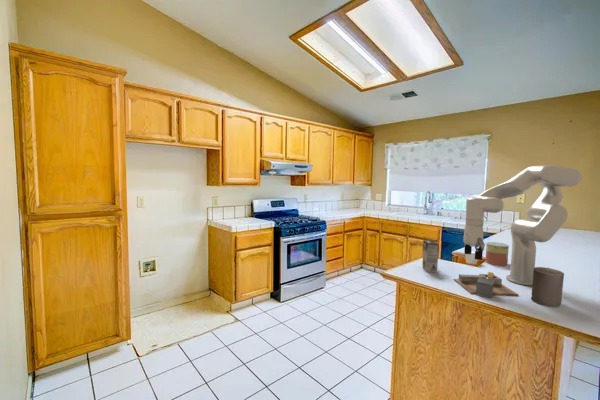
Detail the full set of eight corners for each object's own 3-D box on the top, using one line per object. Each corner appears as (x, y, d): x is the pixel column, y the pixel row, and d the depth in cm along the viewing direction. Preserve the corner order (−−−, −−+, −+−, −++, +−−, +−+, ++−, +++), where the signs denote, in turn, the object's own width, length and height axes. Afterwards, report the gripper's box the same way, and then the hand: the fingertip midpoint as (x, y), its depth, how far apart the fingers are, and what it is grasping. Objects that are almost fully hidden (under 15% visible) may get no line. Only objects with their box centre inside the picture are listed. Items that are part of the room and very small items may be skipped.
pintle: (491, 282, 140) (491, 272, 139) (493, 283, 137) (494, 273, 137) (486, 281, 140) (486, 272, 140) (488, 283, 138) (489, 273, 137)
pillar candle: (525, 297, 124) (527, 264, 122) (545, 297, 124) (548, 263, 123) (545, 308, 114) (549, 272, 113) (568, 307, 115) (571, 271, 113)
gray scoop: (493, 280, 142) (493, 274, 141) (501, 285, 135) (501, 279, 135) (456, 279, 144) (457, 273, 143) (463, 284, 137) (463, 277, 137)
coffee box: (421, 266, 166) (422, 239, 165) (433, 267, 165) (434, 240, 164) (425, 271, 157) (426, 243, 156) (437, 272, 156) (439, 243, 155)
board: (495, 282, 142) (496, 280, 142) (518, 296, 125) (518, 294, 125) (454, 280, 144) (454, 278, 144) (470, 293, 127) (470, 292, 127)
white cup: (462, 261, 177) (462, 250, 177) (472, 261, 178) (473, 250, 177) (469, 264, 170) (470, 253, 170) (480, 264, 171) (481, 253, 170)
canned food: (508, 267, 166) (509, 247, 165) (485, 264, 172) (486, 244, 171) (507, 262, 175) (508, 243, 174) (485, 259, 181) (486, 241, 180)
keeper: (478, 289, 132) (479, 277, 132) (494, 293, 128) (495, 280, 128) (475, 294, 127) (476, 281, 126) (491, 298, 123) (492, 284, 123)
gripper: (458, 219, 148) (456, 251, 150) (476, 225, 131) (474, 261, 132) (472, 220, 148) (471, 252, 149) (493, 225, 131) (491, 261, 132)
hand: (472, 256), depth 141 cm, fingers open, 9 cm apart
